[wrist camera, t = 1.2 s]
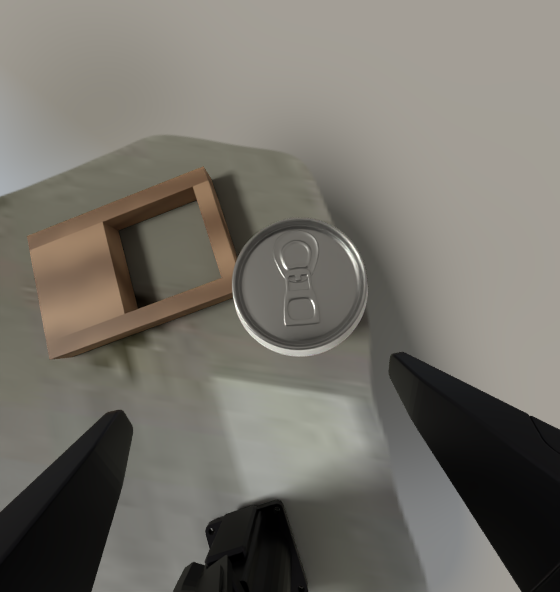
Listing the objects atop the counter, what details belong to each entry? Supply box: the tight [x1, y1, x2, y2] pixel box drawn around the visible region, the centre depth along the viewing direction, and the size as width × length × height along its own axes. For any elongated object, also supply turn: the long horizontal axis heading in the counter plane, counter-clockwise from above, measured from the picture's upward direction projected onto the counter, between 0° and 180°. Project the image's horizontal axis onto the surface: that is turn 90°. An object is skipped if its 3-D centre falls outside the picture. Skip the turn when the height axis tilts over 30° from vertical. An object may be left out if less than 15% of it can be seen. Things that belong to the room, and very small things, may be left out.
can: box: [232, 217, 368, 356], centre depth 16 cm, size 6×6×12 cm
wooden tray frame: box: [27, 166, 238, 360], centre depth 23 cm, size 12×18×2 cm, turn 109°
